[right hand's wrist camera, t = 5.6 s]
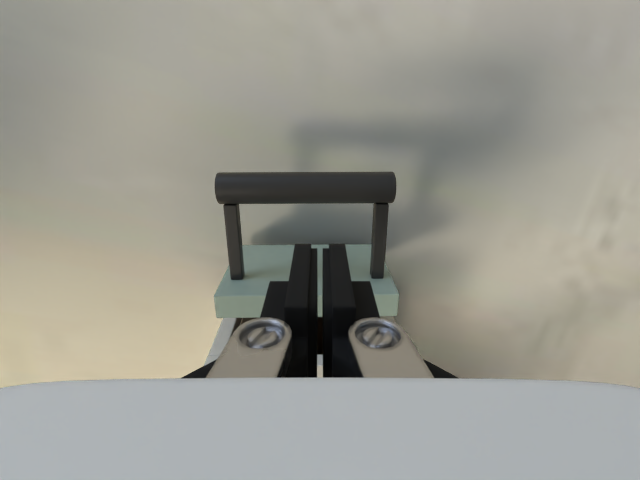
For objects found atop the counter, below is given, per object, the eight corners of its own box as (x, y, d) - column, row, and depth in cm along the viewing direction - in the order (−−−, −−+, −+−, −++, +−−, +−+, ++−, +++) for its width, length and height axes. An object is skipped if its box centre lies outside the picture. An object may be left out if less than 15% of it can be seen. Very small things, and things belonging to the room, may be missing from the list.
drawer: (231, 157, 20) (199, 181, 15) (382, 157, 20) (409, 180, 15) (252, 403, 27) (236, 486, 21) (367, 401, 27) (382, 484, 21)
